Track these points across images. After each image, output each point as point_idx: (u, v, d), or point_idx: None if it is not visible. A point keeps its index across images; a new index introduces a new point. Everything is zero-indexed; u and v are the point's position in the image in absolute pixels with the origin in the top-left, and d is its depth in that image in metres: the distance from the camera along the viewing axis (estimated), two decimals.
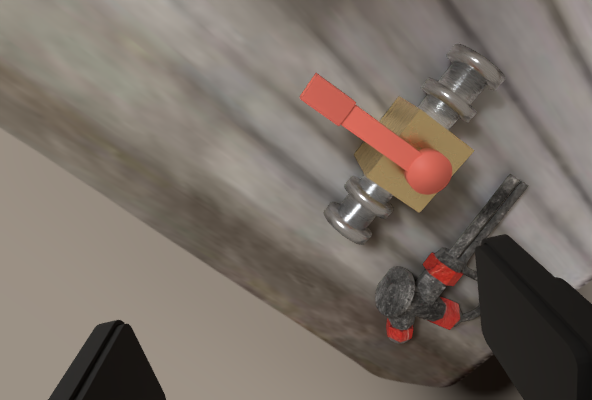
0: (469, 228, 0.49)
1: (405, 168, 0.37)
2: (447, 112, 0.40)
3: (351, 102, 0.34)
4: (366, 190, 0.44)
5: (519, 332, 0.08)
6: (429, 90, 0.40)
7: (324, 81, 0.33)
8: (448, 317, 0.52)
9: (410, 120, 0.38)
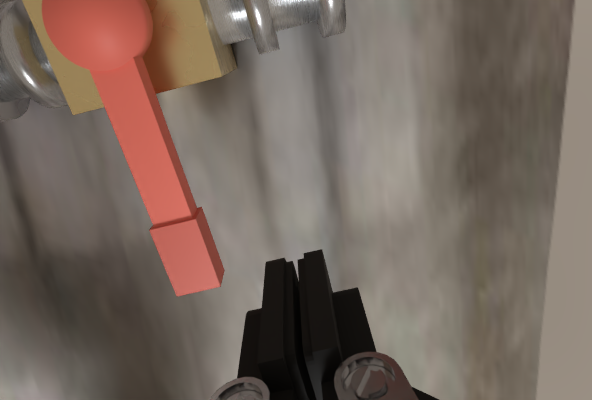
0: None
1: (133, 68, 0.17)
2: (43, 53, 0.22)
3: (155, 235, 0.20)
4: (247, 24, 0.22)
5: None
6: (61, 101, 0.24)
7: (173, 283, 0.21)
8: None
9: (97, 108, 0.21)
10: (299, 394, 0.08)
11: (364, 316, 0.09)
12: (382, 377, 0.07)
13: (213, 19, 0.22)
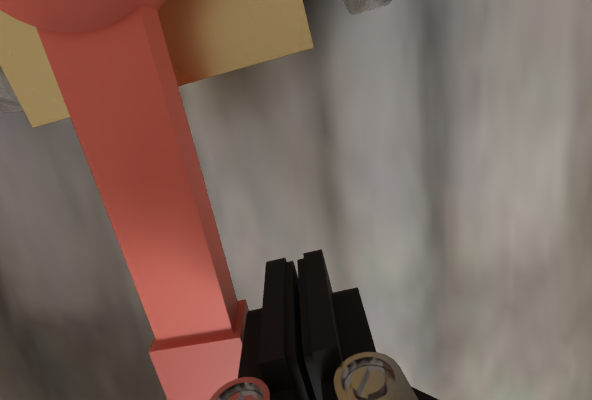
0: None
1: (138, 31, 0.08)
2: None
3: (159, 361, 0.10)
4: None
5: None
6: None
7: None
8: None
9: None
10: (299, 394, 0.08)
11: (364, 316, 0.09)
12: (382, 377, 0.07)
13: None
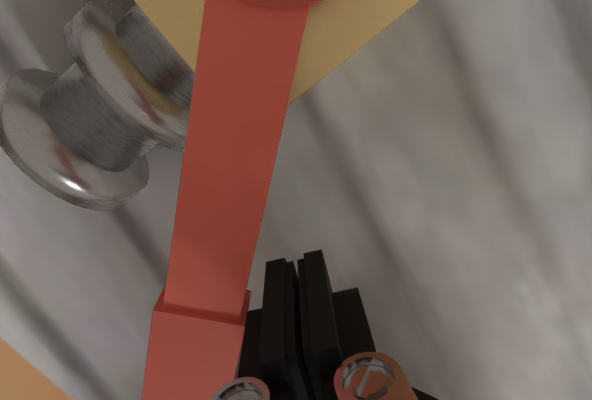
0: None
1: (298, 25, 0.08)
2: (155, 65, 0.13)
3: (158, 322, 0.10)
4: None
5: None
6: None
7: None
8: None
9: None
10: (299, 394, 0.08)
11: (364, 316, 0.09)
12: (382, 377, 0.07)
13: None
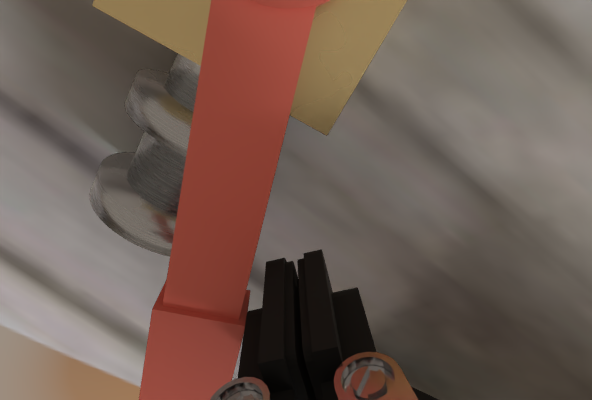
0: None
1: (304, 25, 0.08)
2: None
3: (158, 321, 0.10)
4: None
5: None
6: None
7: None
8: None
9: (349, 95, 0.12)
10: (300, 394, 0.08)
11: (364, 316, 0.09)
12: (382, 377, 0.07)
13: None
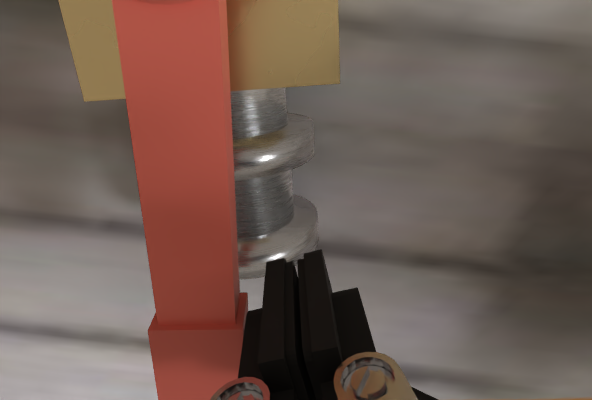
0: None
1: (212, 14, 0.08)
2: (233, 124, 0.14)
3: (156, 341, 0.10)
4: None
5: None
6: (307, 131, 0.15)
7: None
8: None
9: (338, 32, 0.11)
10: (300, 394, 0.08)
11: (364, 316, 0.09)
12: (381, 377, 0.07)
13: None
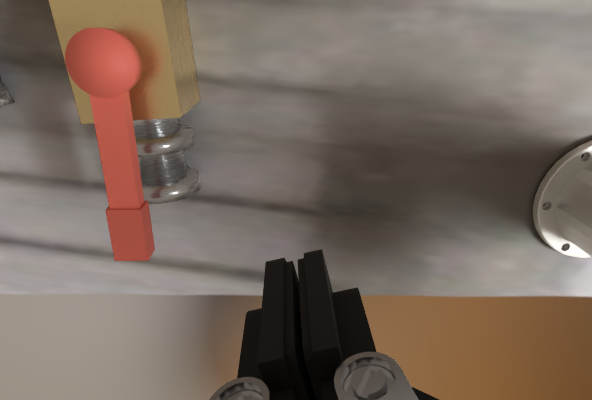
0: None
1: (120, 100, 0.25)
2: (147, 132, 0.31)
3: (109, 214, 0.28)
4: None
5: None
6: (184, 135, 0.32)
7: (114, 251, 0.29)
8: None
9: (178, 98, 0.28)
10: (299, 394, 0.08)
11: (364, 316, 0.09)
12: (382, 377, 0.07)
13: None
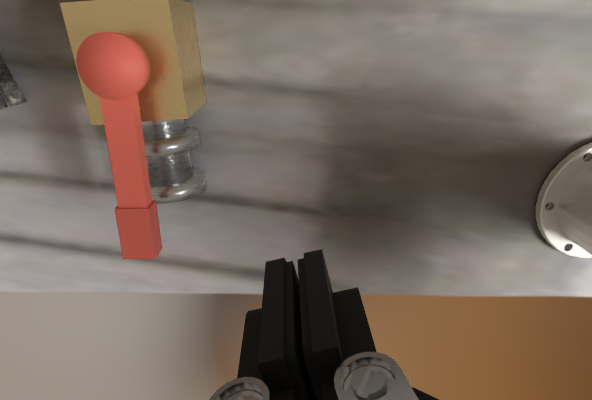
0: None
1: (130, 102, 0.26)
2: (155, 133, 0.32)
3: (118, 213, 0.29)
4: None
5: None
6: (191, 136, 0.33)
7: (123, 249, 0.30)
8: None
9: (185, 100, 0.29)
10: (299, 394, 0.08)
11: (364, 316, 0.09)
12: (382, 377, 0.07)
13: None
